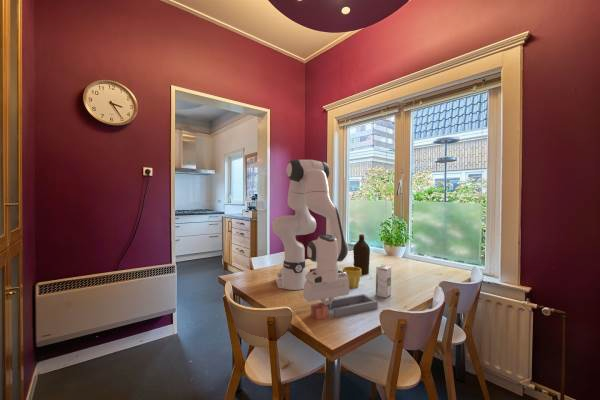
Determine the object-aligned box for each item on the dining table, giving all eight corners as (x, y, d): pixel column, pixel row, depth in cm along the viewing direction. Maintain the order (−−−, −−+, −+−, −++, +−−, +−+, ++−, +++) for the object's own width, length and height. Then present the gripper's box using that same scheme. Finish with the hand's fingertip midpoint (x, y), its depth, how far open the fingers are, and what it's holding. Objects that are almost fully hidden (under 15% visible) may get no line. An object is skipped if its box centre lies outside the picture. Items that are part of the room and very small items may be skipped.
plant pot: (339, 283, 142) (339, 266, 142) (356, 282, 145) (356, 265, 145) (347, 290, 132) (347, 271, 132) (365, 288, 135) (365, 270, 135)
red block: (321, 314, 104) (310, 317, 102) (321, 302, 104) (310, 304, 102) (327, 319, 100) (317, 322, 98) (327, 307, 100) (317, 309, 98)
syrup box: (379, 292, 130) (380, 264, 130) (391, 295, 126) (391, 266, 126) (375, 295, 125) (375, 266, 125) (387, 298, 122) (387, 268, 122)
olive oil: (373, 273, 163) (373, 234, 163) (362, 276, 157) (362, 236, 157) (360, 269, 172) (360, 233, 172) (349, 272, 165) (349, 234, 165)
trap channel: (323, 310, 108) (323, 301, 108) (363, 302, 117) (363, 293, 117) (335, 320, 100) (335, 309, 100) (377, 310, 108) (377, 301, 108)
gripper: (344, 269, 111) (343, 301, 111) (301, 275, 102) (301, 309, 103) (352, 273, 105) (352, 306, 105) (308, 280, 97) (308, 315, 97)
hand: (326, 307), depth 104 cm, fingers closed
